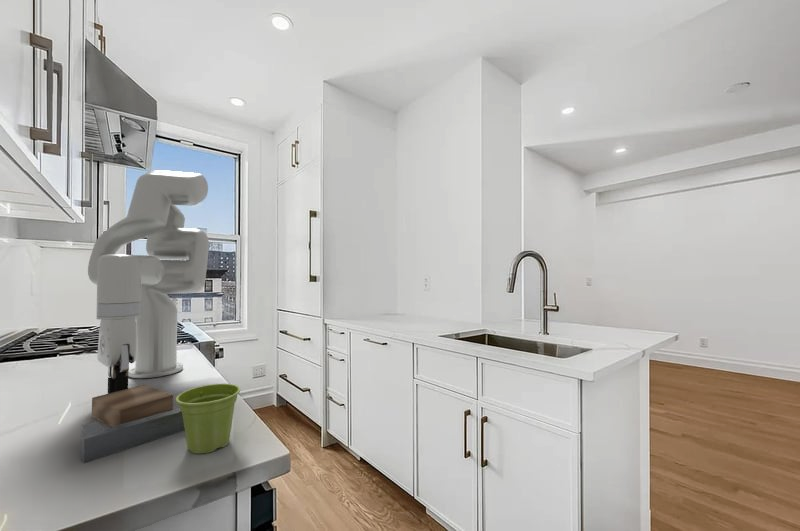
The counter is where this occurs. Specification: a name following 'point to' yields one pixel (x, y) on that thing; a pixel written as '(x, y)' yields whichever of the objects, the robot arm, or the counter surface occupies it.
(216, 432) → the plant pot
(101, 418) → the walnut slab
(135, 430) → the stop bracket
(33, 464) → the counter surface
